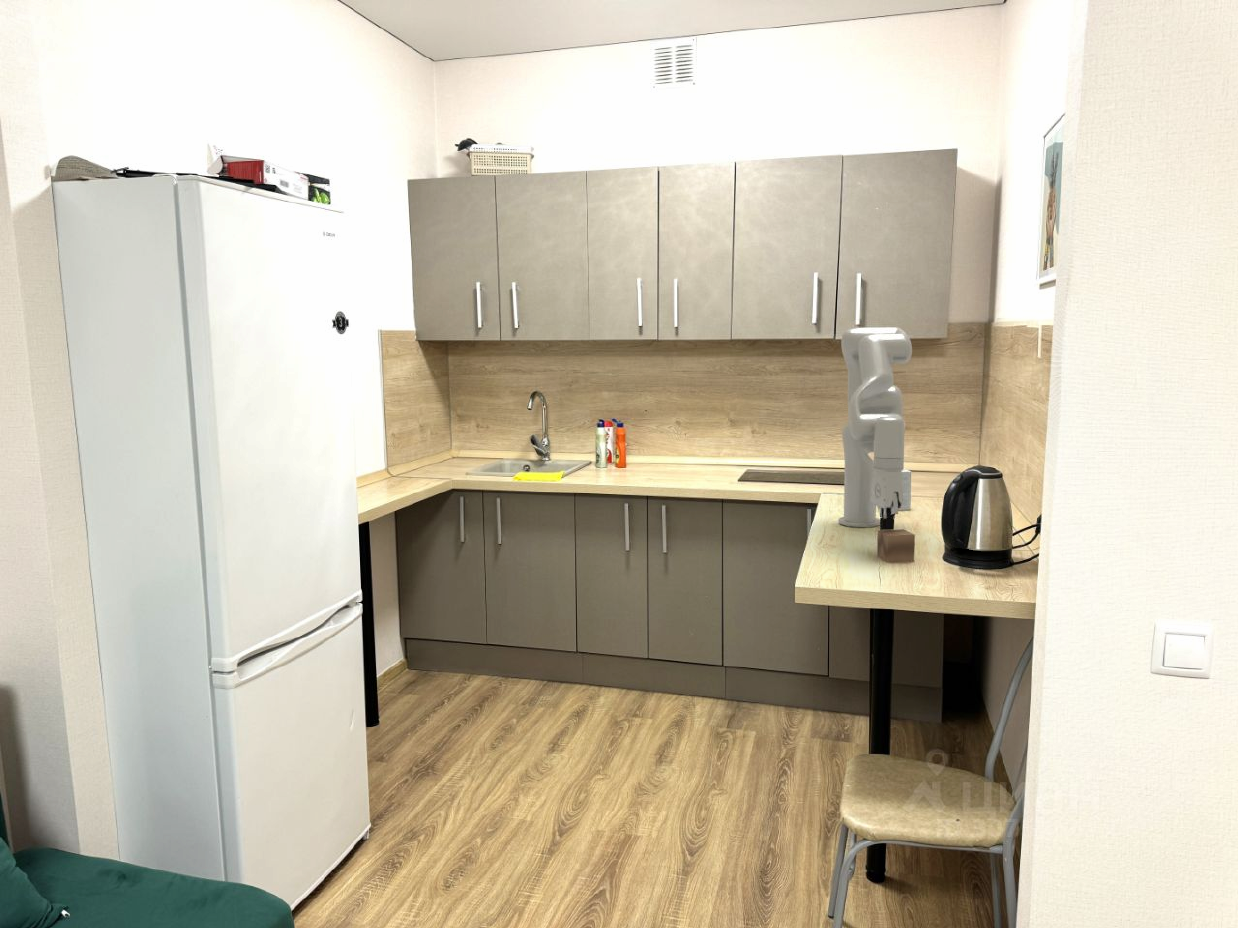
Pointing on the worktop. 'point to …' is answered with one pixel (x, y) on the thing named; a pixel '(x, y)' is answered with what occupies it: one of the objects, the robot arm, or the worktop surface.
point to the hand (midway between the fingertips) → (886, 532)
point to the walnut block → (895, 545)
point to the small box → (906, 490)
